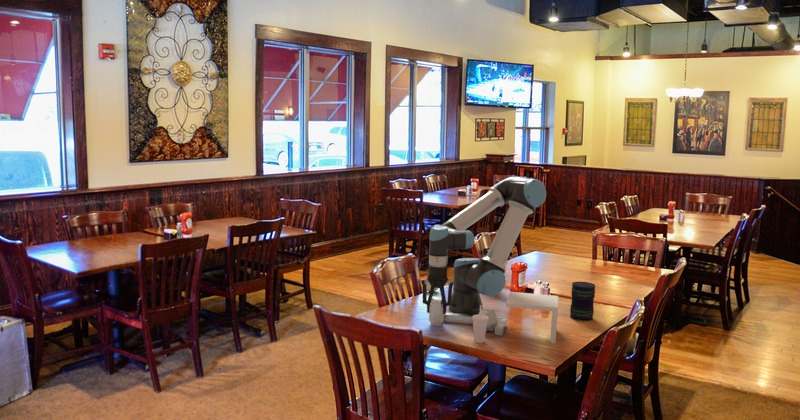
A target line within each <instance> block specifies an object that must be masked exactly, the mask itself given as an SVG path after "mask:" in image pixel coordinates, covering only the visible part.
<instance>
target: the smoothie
mask: <svg viewBox="0 0 800 420" xmlns="http://www.w3.org/2000/svg"><path fill="white" fill-rule="evenodd" d="M472 315H473V316H472V320H473V324H472V328H473V340H474V342H475V343H477V344H482V343H485V338H486V333H487V331H486V328H487V322H488V320H489V317H488V316H486V315H481V305H480V315H478V314H472Z"/></svg>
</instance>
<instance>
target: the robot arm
mask: <svg viewBox="0 0 800 420" xmlns="http://www.w3.org/2000/svg"><path fill="white" fill-rule="evenodd" d="M546 198H547V190H546V186H545V184H544V182H542V180H539V179H536V178H534V177H525V176H520V175H513V176H509V177H507V178H504V179H502V180H500V181H499V182H497V183H495V184H494V185H493V186H491V187H490V188H489V189H488V191H487V193H485V194H483V196H480V197H479V198H478V199H476V200H475V201H473V202H472V203H471V204H469V205H468V206H467V207H465V208H464V209H462V210H461V211H459V212H457V214H455V215H453V216H452V217H451V218H449V219H448V220H447V221H445V222H444V223H442V224H434V225H433V226H432V227H431V228H430V231H429V237H428V239H429V248H428V249H429V250H428V251H429V253H428V254H429V255H428V275H427V278H422V279H421V281H420V282H421V286H422V304H423V305H426V312H427V314H428V315H429V316H428V322H430V323H431V299H432V298H433V297H434V295H433V294H434V288H438V289H439V291H440V298H442V304H443V305H442V306H441V323H442V324H443V323H444V321H443V320H444V314H446V313H447V307H448V310H449V311H451V313H456V314H467V315H477V314H479V312H480V305H481V309H484V308H483V307H484V304H483V302H482V297H481V295H482V296H487V297H493V296H494V297H495V296H496V295H497V296H498V295H499V294H500V293H501V292H502V291H503V290H504V288H505V287H506V282H507V280H506V276H505V273H506V272H507V269H506V267H505V264H506V263H507V260H508V259H509V256H510V254H511V252H512V249H513V247H514V245H515V243H516V241H517V239H518V237H519V235H520V233H521V231H522V228H523V226H524V224H525V222H526V221H527V218H528V216H529V215H532V214H534V212H535V210H536V208H539V207H540V206H543V204H544V203H545V201H546ZM507 204H508V206H509V207H508V209H507V211H506V214H505V215H504V218H503V220H502V222H501V224H500V226H499V228H498V230H497V233H496V234H495V237H494V239H493V240H492V243H491V245H490V246H489V248H490V249H489V251H488V253H487V255H486V256H485V257H483V256H482V257H483V258H482V257H481V258H476V257H464V258H463V257H462V258H458V259H455V261H454V264H453V280H449V278H448V266H447V265H448V259H449V257H448V256H449V251H455V250H466V249H471V248H473V246H474V244H475V235H474V233H473V232H472V231H471V230H467V229H468V228H469V227H471V226H472V225H474V224H475V223H476V222H478V221H479V220H480V219H482V218H484V217H486V216H487V215H488V214H490V212H492V211H494V210H495V209H496V208H498V207H503V206H504V205H507ZM427 281H428V282H429V283H430V285H431V289H430V292H429V293H428V291H427V285H426V284H427ZM446 284H447V286H448V291H447V299H446V292H445V286H446ZM427 293H428V299H427ZM480 294H481V295H480Z"/></svg>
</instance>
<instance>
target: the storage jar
mask: <svg viewBox="0 0 800 420" xmlns="http://www.w3.org/2000/svg"><path fill="white" fill-rule="evenodd" d="M570 291H571V292H570V293H571V294H570V295H571V304H570V310H569V318H571V319H572V320H574V321H577V322H591V321H593V319H594V311H595V308H594V300H595V297H596V296H595V295H596V284H595V283H592V282H588V281H574V282H573V281H572V283H571V290H570Z"/></svg>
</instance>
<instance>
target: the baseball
mask: <svg viewBox="0 0 800 420" xmlns="http://www.w3.org/2000/svg"><path fill="white" fill-rule="evenodd" d="M426 285H427V292H429V291H430V289H431V285H430V283H429V282H428V281H427V284H426ZM437 290H439V288H434V292H436V291H437ZM434 292H433V293H434Z"/></svg>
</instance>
